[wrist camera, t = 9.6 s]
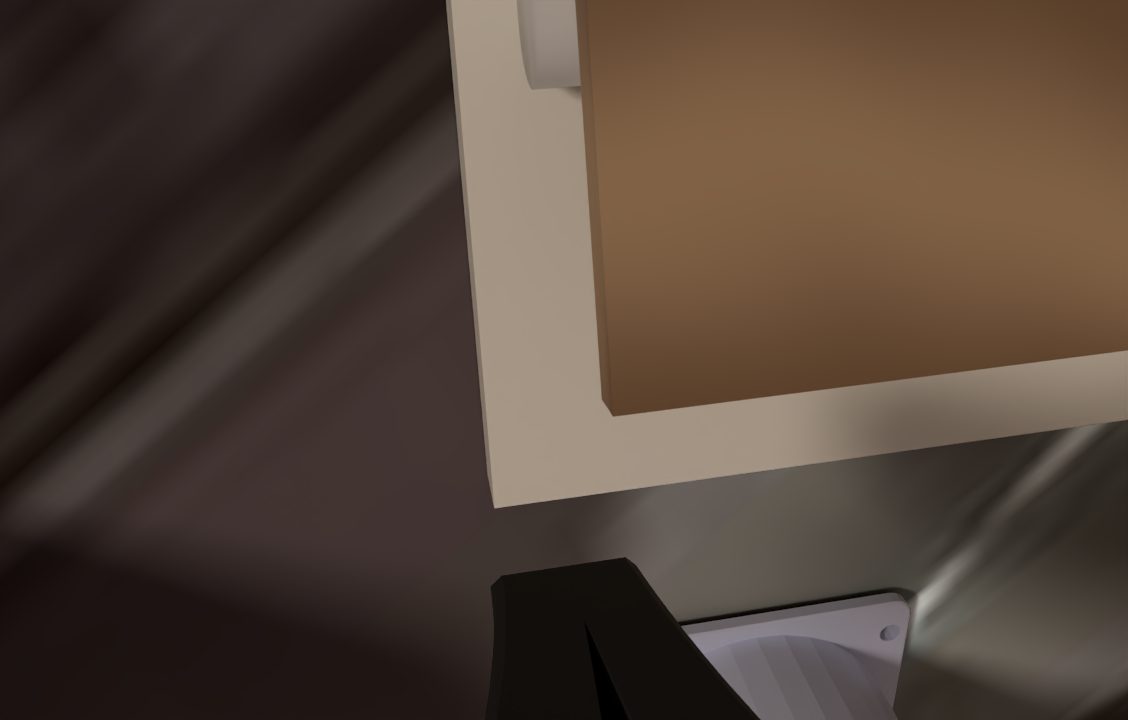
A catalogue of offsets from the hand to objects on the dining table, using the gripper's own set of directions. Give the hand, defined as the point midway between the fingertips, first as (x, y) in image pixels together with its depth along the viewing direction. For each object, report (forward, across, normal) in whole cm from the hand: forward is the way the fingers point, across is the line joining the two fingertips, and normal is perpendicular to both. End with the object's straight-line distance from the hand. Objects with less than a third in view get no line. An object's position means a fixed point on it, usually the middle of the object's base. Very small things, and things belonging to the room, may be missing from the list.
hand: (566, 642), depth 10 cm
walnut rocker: (+7, -6, -5) cm, 10 cm away
